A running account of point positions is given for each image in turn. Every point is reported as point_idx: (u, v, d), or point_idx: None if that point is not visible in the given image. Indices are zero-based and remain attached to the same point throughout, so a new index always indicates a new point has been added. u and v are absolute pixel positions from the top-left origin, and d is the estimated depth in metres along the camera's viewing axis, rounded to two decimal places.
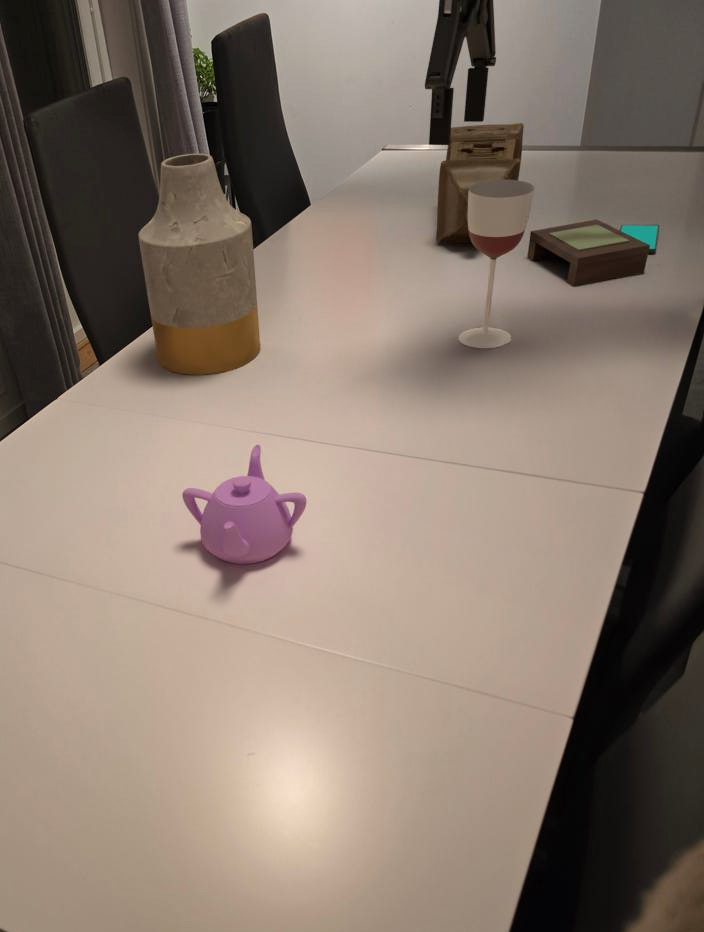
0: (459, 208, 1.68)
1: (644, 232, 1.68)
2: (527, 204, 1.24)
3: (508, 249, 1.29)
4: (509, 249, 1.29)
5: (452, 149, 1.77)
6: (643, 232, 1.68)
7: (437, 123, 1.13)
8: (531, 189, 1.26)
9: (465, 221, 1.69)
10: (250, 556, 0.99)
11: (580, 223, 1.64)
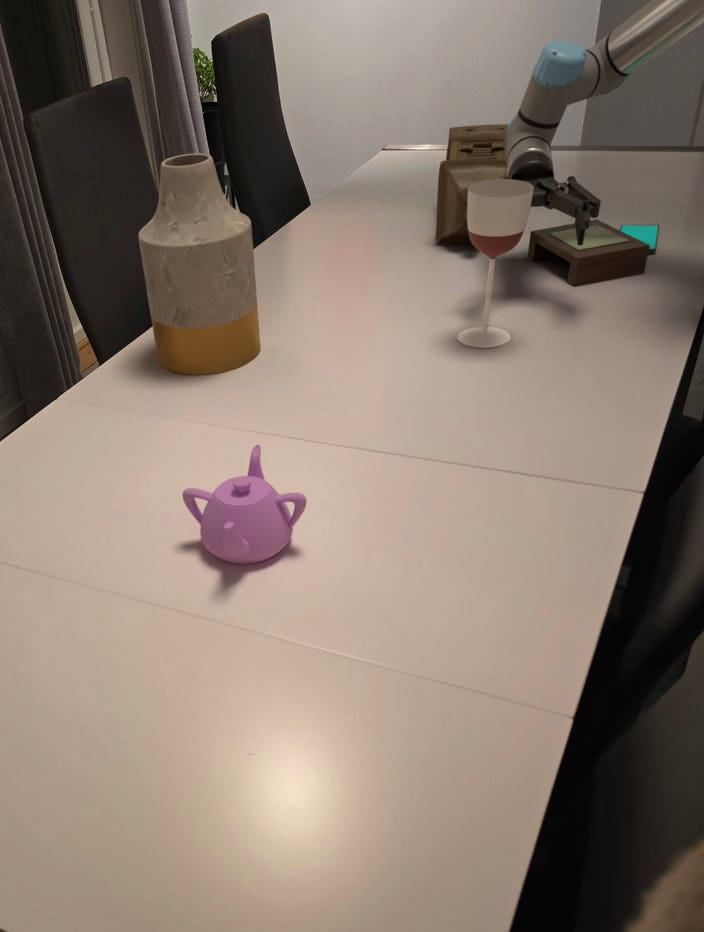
0: (458, 208, 1.68)
1: (644, 232, 1.68)
2: (526, 203, 1.24)
3: (508, 248, 1.29)
4: (508, 248, 1.29)
5: (452, 149, 1.77)
6: (643, 232, 1.68)
7: None
8: (530, 189, 1.26)
9: (464, 221, 1.69)
10: (250, 556, 0.99)
11: None
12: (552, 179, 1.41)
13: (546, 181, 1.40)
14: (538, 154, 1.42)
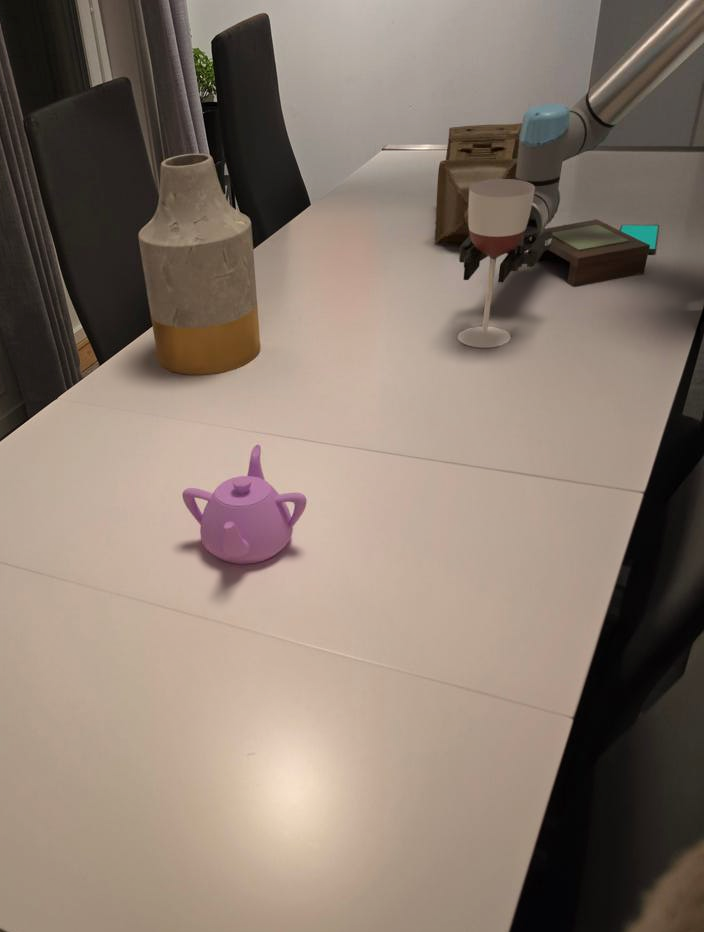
0: (457, 208, 1.69)
1: (644, 232, 1.68)
2: (528, 204, 1.24)
3: (509, 248, 1.29)
4: (509, 249, 1.29)
5: (451, 149, 1.77)
6: (643, 232, 1.68)
7: None
8: (532, 189, 1.26)
9: (464, 221, 1.69)
10: (250, 556, 0.99)
11: (580, 223, 1.64)
12: (533, 228, 1.39)
13: None
14: None
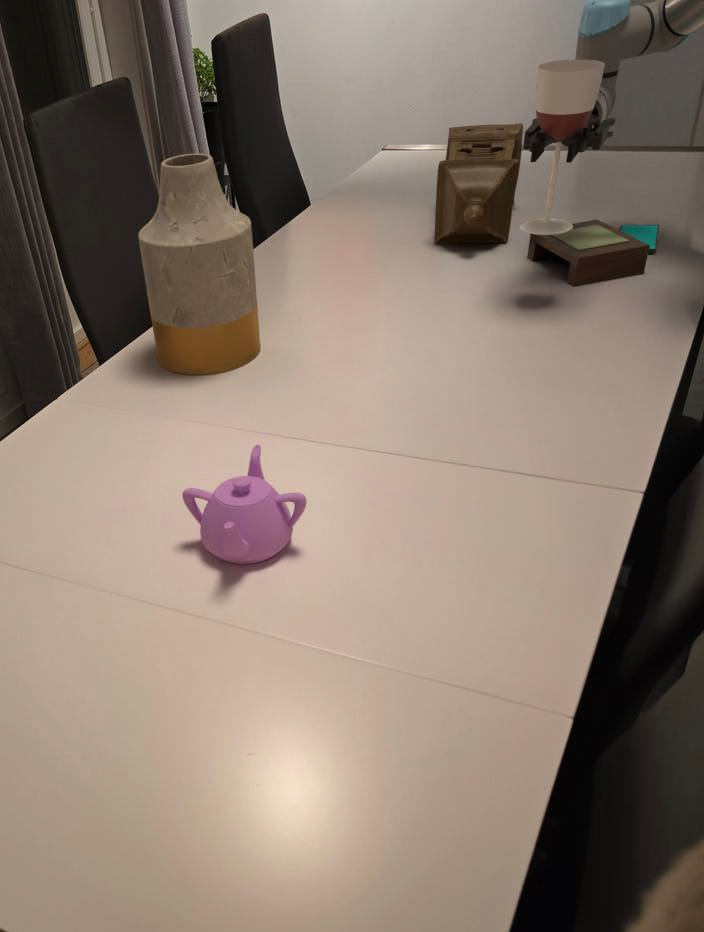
0: (456, 208, 1.69)
1: (644, 232, 1.68)
2: (598, 79, 1.25)
3: (577, 128, 1.30)
4: (577, 128, 1.30)
5: (451, 149, 1.77)
6: (643, 232, 1.68)
7: None
8: (600, 66, 1.27)
9: (463, 221, 1.69)
10: (250, 556, 0.99)
11: (580, 223, 1.64)
12: (595, 117, 1.40)
13: None
14: None
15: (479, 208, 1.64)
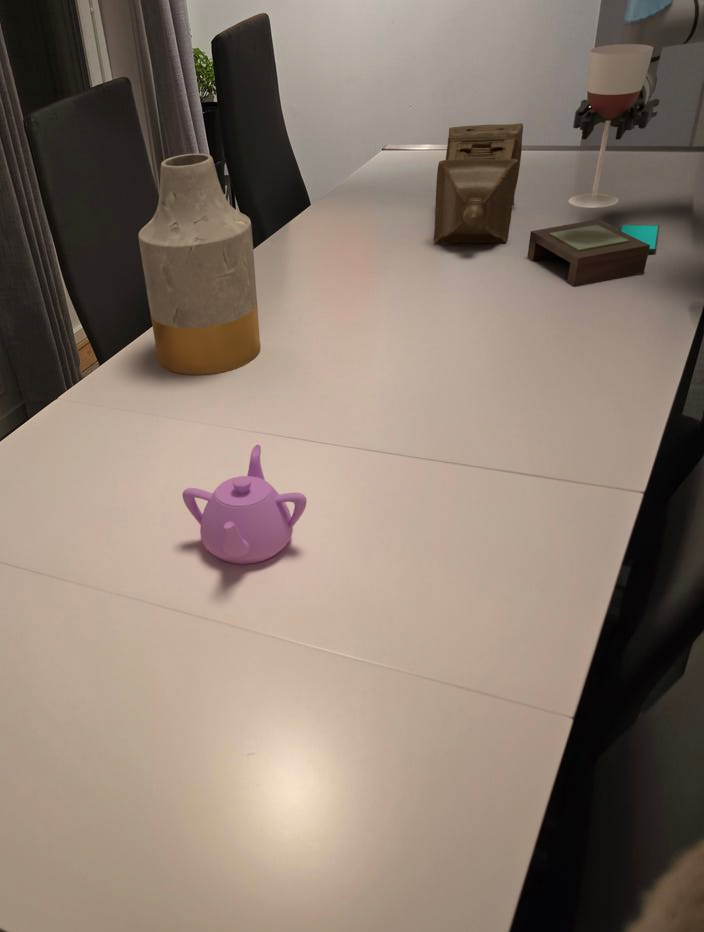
0: (456, 208, 1.69)
1: (644, 232, 1.68)
2: (647, 62, 1.36)
3: (626, 107, 1.41)
4: (626, 108, 1.41)
5: (451, 149, 1.77)
6: (643, 232, 1.68)
7: None
8: (649, 50, 1.38)
9: (462, 221, 1.69)
10: (250, 556, 0.98)
11: (580, 223, 1.64)
12: (640, 98, 1.51)
13: None
14: None
15: (478, 208, 1.64)
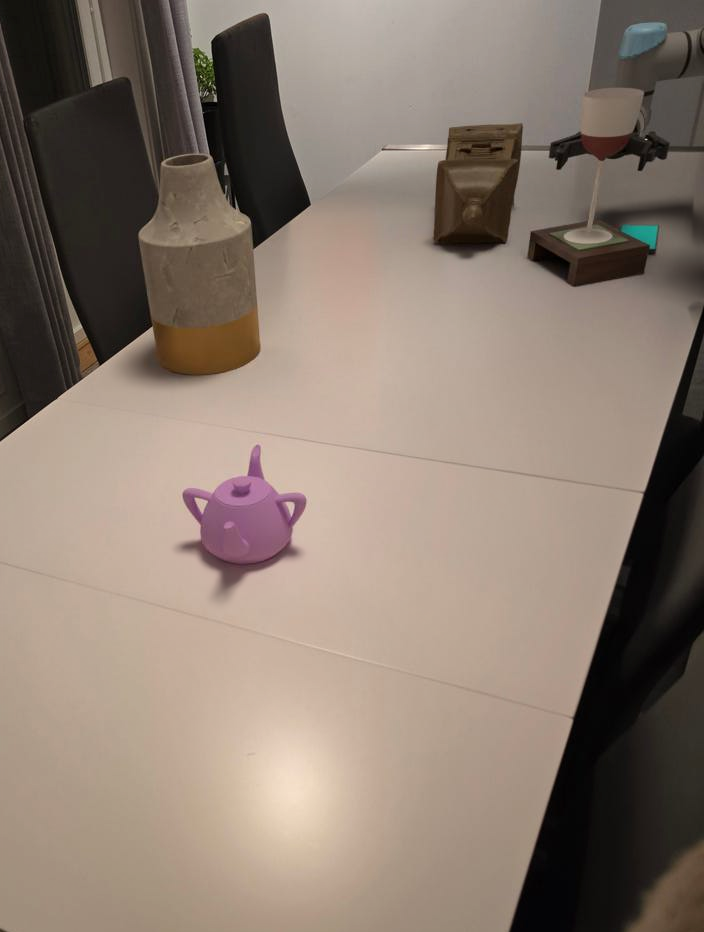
0: (455, 208, 1.69)
1: (644, 232, 1.68)
2: (638, 106, 1.41)
3: (618, 149, 1.45)
4: (618, 149, 1.45)
5: (450, 149, 1.77)
6: (643, 232, 1.68)
7: None
8: (640, 94, 1.43)
9: (462, 221, 1.69)
10: (250, 556, 0.99)
11: (580, 223, 1.64)
12: (635, 132, 1.55)
13: None
14: None
15: (478, 208, 1.64)
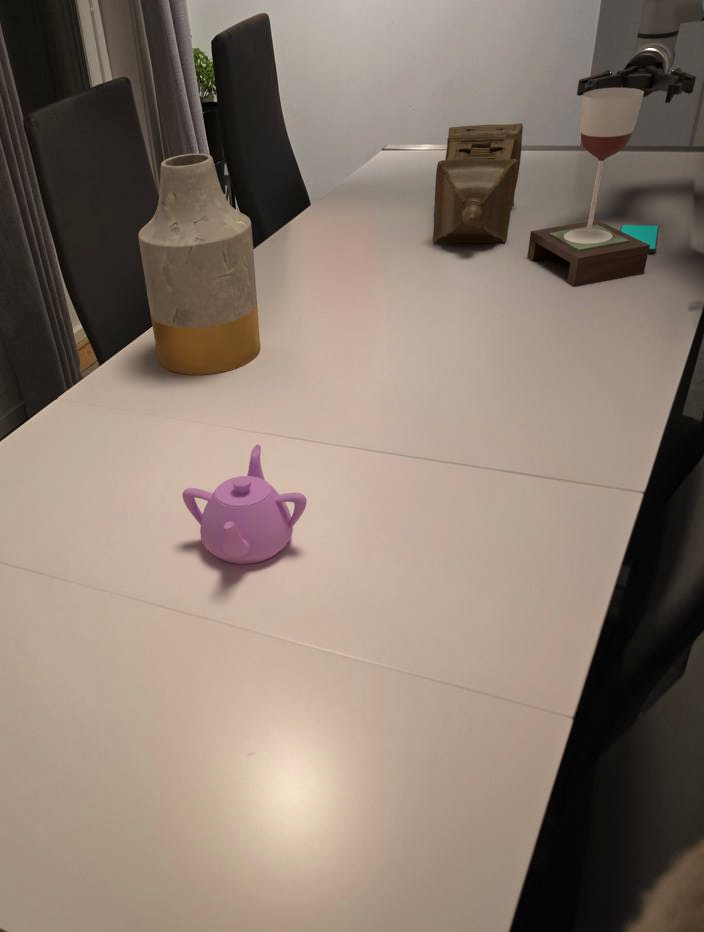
0: (455, 208, 1.69)
1: (644, 232, 1.68)
2: (638, 106, 1.41)
3: (618, 148, 1.45)
4: (618, 149, 1.45)
5: (450, 149, 1.77)
6: (643, 232, 1.68)
7: None
8: (640, 94, 1.43)
9: (461, 221, 1.69)
10: (250, 556, 0.99)
11: (580, 223, 1.64)
12: None
13: (654, 67, 1.58)
14: (653, 51, 1.61)
15: (477, 208, 1.64)
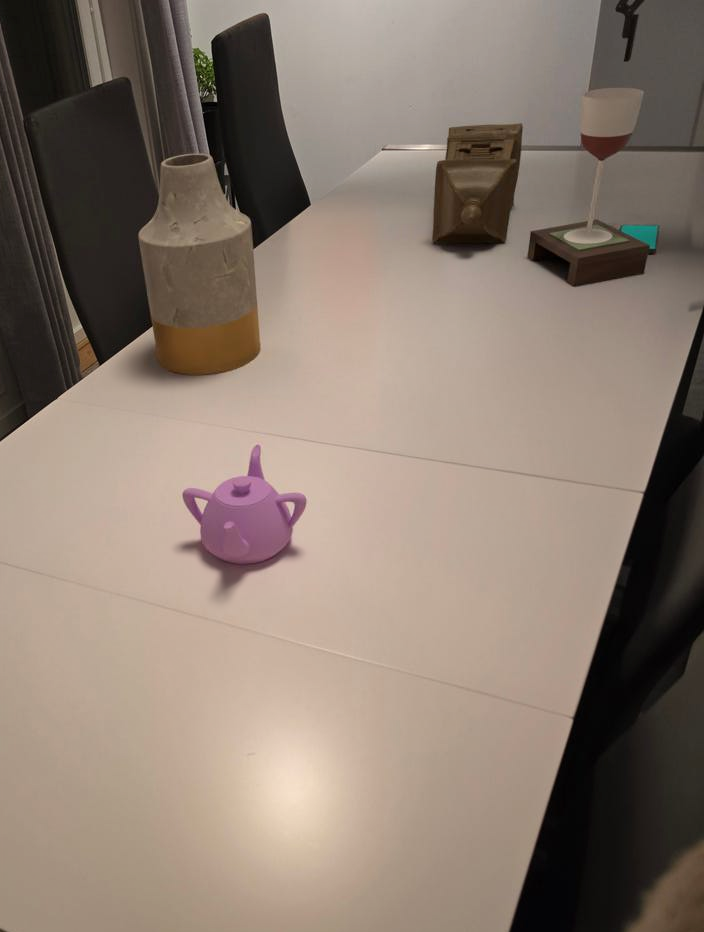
0: (454, 208, 1.69)
1: (644, 232, 1.68)
2: (638, 106, 1.41)
3: (618, 148, 1.45)
4: (618, 149, 1.45)
5: (450, 149, 1.77)
6: (643, 232, 1.68)
7: None
8: (640, 94, 1.43)
9: (460, 221, 1.69)
10: (250, 556, 0.99)
11: (580, 223, 1.64)
12: None
13: None
14: None
15: (476, 208, 1.64)
